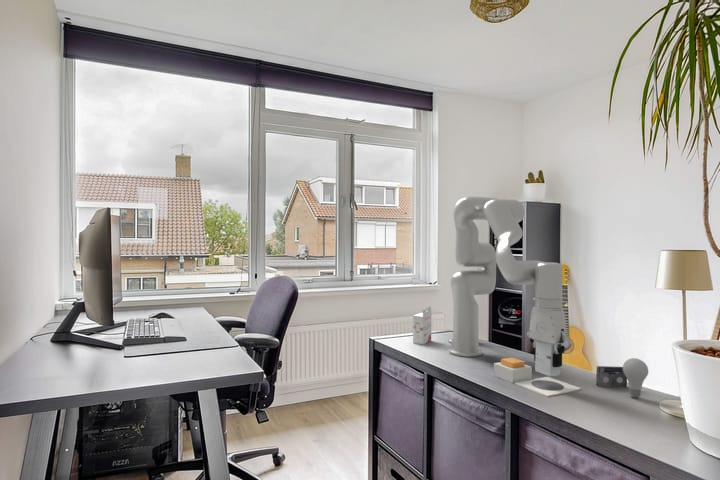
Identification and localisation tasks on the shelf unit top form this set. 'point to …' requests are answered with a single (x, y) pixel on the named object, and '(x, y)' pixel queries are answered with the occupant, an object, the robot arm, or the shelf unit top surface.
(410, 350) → the shelf unit top surface
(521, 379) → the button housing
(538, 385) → the white plate with oval
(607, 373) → the mini dv tape
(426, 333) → the ink cartridge box
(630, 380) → the lightbulb
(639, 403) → the shelf unit top surface
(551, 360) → the skincare box
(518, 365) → the button
